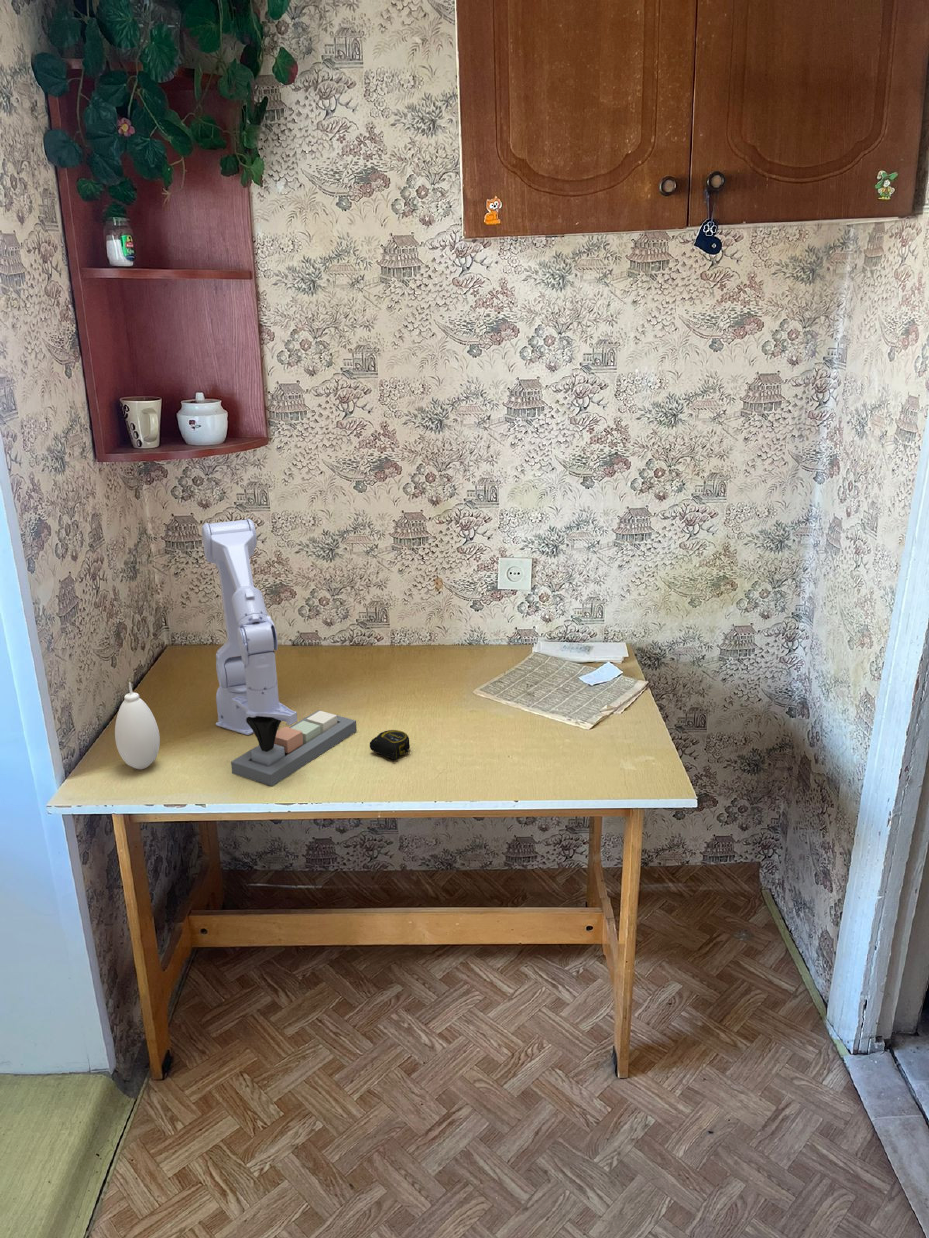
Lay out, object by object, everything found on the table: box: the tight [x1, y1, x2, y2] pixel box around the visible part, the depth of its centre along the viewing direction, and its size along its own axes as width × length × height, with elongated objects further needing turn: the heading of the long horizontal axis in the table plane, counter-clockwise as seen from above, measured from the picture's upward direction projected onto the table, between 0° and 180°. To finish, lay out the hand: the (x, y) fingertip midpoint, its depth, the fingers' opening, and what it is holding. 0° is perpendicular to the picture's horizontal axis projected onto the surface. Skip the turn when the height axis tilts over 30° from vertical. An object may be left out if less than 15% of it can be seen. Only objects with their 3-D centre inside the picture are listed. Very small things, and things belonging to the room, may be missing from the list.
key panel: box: [230, 709, 358, 788], centre depth 188 cm, size 10×26×2 cm, turn 149°
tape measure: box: [369, 729, 411, 761], centre depth 187 cm, size 7×7×4 cm
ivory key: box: [306, 710, 337, 734], centre depth 194 cm, size 4×4×3 cm
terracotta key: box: [274, 726, 303, 753], centre depth 185 cm, size 4×4×3 cm
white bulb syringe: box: [114, 681, 161, 770], centre depth 180 cm, size 8×8×18 cm
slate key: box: [251, 744, 285, 767], centre depth 181 cm, size 4×4×3 cm
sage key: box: [292, 721, 321, 746], centre depth 189 cm, size 4×4×3 cm
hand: (267, 749), depth 180 cm, fingers closed, pressing on slate key
